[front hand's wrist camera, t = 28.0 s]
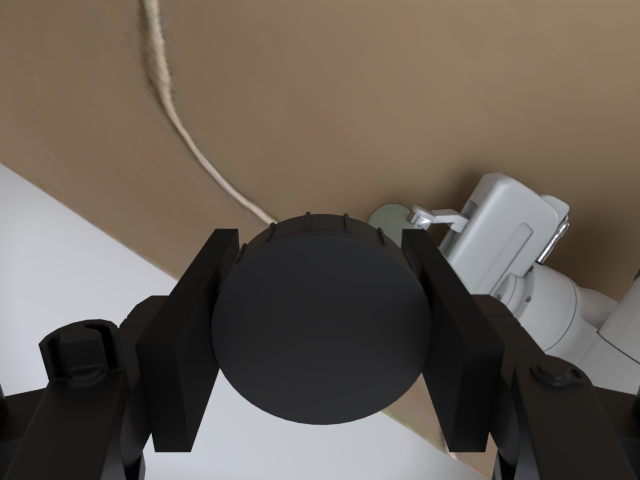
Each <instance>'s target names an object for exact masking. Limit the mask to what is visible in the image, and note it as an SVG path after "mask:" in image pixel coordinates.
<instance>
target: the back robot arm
mask: <svg viewBox="0 0 640 480" xmlns="http://www.w3.org/2000/svg"><path fill="white" fill-rule="evenodd" d="M569 217H570V209H569V206H568V205H567V203H565V202H564V201H563V200H561V199H559V198H557V197H555V196H553V195H551V194H539V195H537V194H536V193H535V192H533V191H532V190H531V189H529V188H528V187H526V186H525V185H523V184H521V183H520V182H518V181H516V180H515V179H513V178H511V177H509V176H507V175H505V174H503V173H500V172H493V173H488V174H485V175H484V176H483V177H482V179H481V180H480V182H479V183H478V185H477V187H476V188H475V190H474V191H473V193H472V195H471V196H470V198H469V199H468V201H467V203H466V204H465V206H464V207H463V209H462V211H461V212H460V213H458V212H456V211H454V210H452V209H442V210H431V211H428V210H426V209H424V208H422V207H420V206H418V205H414V206H413V208H412V210H411V211H410V213H409V215H408V217H407V219H408V221H409V222H411V223H412V224H414V225H419V226H420V227H421V228H422V229H425V230H427V229H428V227H429V226H430V224H431V223H446V224H447V225H448V226H449V227H450V230H449V231H448V233H447V235H446V236H445V238H444V239H443V241H442V243H441V244H440V246H439V247H438V248H439V250H440V251H441V252H442V253H443V255H444V256H445V257H446V259H447V260H448V261H449V263H450V264H451V265H452V267H453V268H454V269H455V270H456V272H457V273H458V274H459V276H460V277H461V278H462V280H463V281H464V282H465V284H466V285H467V286H468V288H469V289H470V291H471V293H472V294H489V295H491V296H493V297H494V298H496V299H497V300H499V301H501V302H502V303H504V304H505V305H506V306H507V308H508V309H509V310H510V311H511V312H512V314H513V316H514V317H516V319H517V320H518V321H519V322H520V323H521V326H523V327H524V328H525V330H526V331H527V332H528V333H529V334H530V336H531V337H532V338H533V339H534V340H535V342H536V343H537V344H538V345H539V347H540V348H541V349H542V350H543V351H544V353H545V354H547V355H551V356H555V357H559V358H561V359H563V360H566V361H568V362H570V363H572V364H574V365H575V366H577V367H578V368H579V369H581V370H582V371H584V372H585V374H586V375H587V376H588V378H589V379H590V380H591V382H592V384H593V386H597V387H601V388H606V389H610V390H615V391H620V392H625V393H630V394H635V395H637V392H638V389H639V386H640V269H639V271H638V273H637V274H636V276H635V278H634V282H633V284H632V285H631V287H630V288H629V289H628V291H627V292H626V294H625V295H624V296H623V298H622V299H621V300H620V302H617V301H615V300H613V299H612V298H610V297H608V296H606V295H604V294H602V293H600V292H598V291H595V290H592V289H588V288H581V287H579V286H577V285H576V284H575V283H574V282H573V281H572V280H571V279H570V278H569V277H567V276H565V275H563V274H561V273H559V272H557V271H555V270H553V269H551V268H549V267H547V266H545V265H543V263H544V262H545V260H546V259H547V257H548V256H549V255H550V253H551V252H552V250H553V249H554V247H555V245H556V242H558V240H559V239H560V238H561V236H563V235H564V234H565V233H566V231H567V230H568V228H569V225H570V224H569V223H567V222H568V220H569ZM563 218H564V219H563ZM562 219H563V220H562Z"/></svg>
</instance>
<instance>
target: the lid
mask: <svg viewBox="0 0 640 480" xmlns="http://www.w3.org/2000/svg"><path fill="white" fill-rule="evenodd" d="M414 271H416V269H415V267H414V265H413V263H412V261H411V259H410V257H409V255H408V253H407V252H406V250H404V251H402V250H401V249H400V248H399V247H398V246H397V245H396V244H395V242H394V241H393V240H391V239H390V238H389V237H388V236H386V235H385V234H384V232H383V230H382V228H380V227H378V229H376V228H374V227H373V226H371V225H369V224H366V223H364V222H362V221H359V220H356V219H353V218H349V217H348V214H345V213H344V216H339V215H333V214H313V215H310V212H306V215H303V216H299V217H295V218H290V219H288V220H285V221H282V222H280V223H277V224H275V223H274V222H273V223H271V224H270V226H269V228H268V229H266V230H264V231H263V232H261V233H260V234H259V235H257V236H256V237H255V238H254V239H252V240H251V241H250V242H249V243H248V244H246V243H244V244H243V245H242V247H241V249H240V251H239V253H238V256H237V258H236V260H235V261H234V263H233V265H232V267H231V269H230V271H229V272H228V271H226V273H225V275H224V277H223V279H222V281H221V283H220V285H219V287H218V289H217V292H216V293H217V294H218V297H217V299H216V302H215V304H214V308H213V313H212V317H211V342H212V347H213V351H214V355H215V357H216V360H217V362H218V365H219V367H220V369H221V371H222V372H223V374H224V376H225V377H226V379H227V380H228V381H229V383H230V384H231V385H232V386H233V388H234V389H235V390H236V391H237V392H238V393H239V394H240V395H241V396H243V397H244V398H245V399H246V400H248V401H249V402H250V403H251V404H253V405H255V406H256V407H258V408H260V409H261V410H263V411H265V412H267V413H269V414H271V415H274V416H276V417H279V418H282V419H285V420H289V421H293V422H297V423H304V424H312V425H330V424H341V423H346V422H351V421H355V420H358V419H362V418H365V417H367V416H370V415H372V414H375V413H377V412H379V411H381V410H382V409H384V408H386V407H388V406H389V405H391V404H392V403H393V402H395V401H396V400H398V399H399V398H400V397H401V396H402V395H403V394H404V393H406V392H407V391H408V390H409V388H410V387H411V386H412V385H413V384H414V383H415V381H416V380H417V378H418V377H419V375H420V374H421V372H422V371H423V369H424V366H425V364H426V362H427V359H428V350H429V341H430V332H431V323H432V312H431V308H430V305H429V302H428V301H429V299H428V297H427V295H426V293H425V291H424V289H423V287H422V285H421V282H420V280H419V279H418V278H417V276H416V274H415V272H414Z"/></svg>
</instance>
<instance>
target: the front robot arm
mask: <svg viewBox="0 0 640 480" xmlns="http://www.w3.org/2000/svg"><path fill="white" fill-rule="evenodd" d="M401 250H402V251H404V250H406V252H407V253H408V255H409V257H410V259H411V261H412V263H413V265H414V267H415V269H416V271H414V272H415V274H416V276H417V278H418V279H419V280H420V282H421V285H422V287H423V289H424V291H425V293H426V295H427V297H428V299H429V301H428V302H429V305H430V308H431V312H432V323H431V332H430V341H429V350H428V359H427V362H426V364H425V366H424V369H423V371H422V374H423V377H424V380H425V383H426V386H427V388H428V391H429V394H430V397H431V400H432V403H433V406H434V409H435V411H436V414H437V417H438V420H439V423H440V426H441V429H442V432H443V434H444V437H445V440H446V443H447V446H448V449H449V452H485V451H486V445H487V440H488V435H489V431H490V433H491V436H492V438H493V440H494V442H495V444H496V446H497V448H498V450H497V455H496V460H495V465H494V470H493V475H492V480H640V386H639V389H638V392H637V395H635V394H630V393H625V392H620V391H615V390H610V389H606V388H601V387H597V386H593V384H592V382H591V380H590V379H589V378H588V376H587V375H586V374H585V372H584V371H582V370H581V369H579V368H578V367H577V366H575V365H574V364H572V363H570V362H568V361H566V360H563V359H561V358H559V357H555V356H551V355H547V354H545V353H544V351H543V350H542V349H541V348H540V347H539V345H538V344H537V343H536V342H535V340H534V339H533V338H532V337H531V336H530V334H529V333H528V332H527V331H526V330H525V328H524V327H523V326H521V323H520V322H519V321H518V320H517V319H516V317H514V316H513V314H512V312H511V311H510V310H509V309H508V308H507V306H506V305H505V304H504V303H502V302H501V301H499V300H497V299H496V298H494V297H493V296H491V295H489V294H470V293H469V291H468V290H467V288H466V287H465V286H464V284H463V283H462V281H461V280H460V278H459V277H458V276H457V274H456V273H455V271H454V270H453V268H452V267H451V266H450V264H449V263H448V261H447V260H446V259H445V257H444V256H443V254H442V253H441V251H440V250H439V249H438V247H437V246H436V244H435V243H434V241H433V240H432V239H431V237H430V236H429V234H428V233H427V231H426V230H425V229H402V239H401ZM239 251H240V249H239V235H238V229H215V230H214V232H213V233H212V235H211V236H210V237H209V239H208V240H207V242H206V243H205V245H204V246H203V247H202V249H201V250H200V252H199V253H198V255H197V256H196V257H195V259H194V260H193V262H192V263H191V265H190V266H189V267H188V269H187V270H186V272H185V273H184V275H183V276H182V277H181V279H180V280H179V282H178V283H177V285H176V286H175V287H174V289H173V290H172V292H171V293H170V295H169V296H150V297H148V298H147V299H145V300H144V301H142V302H140V303H139V304H137V305H136V306H135V307H134V309H133V310H132V311H131V312H130V313H129V315H128V316H127V318H126V319H124V321H123V322H122V323H121V324H120V327H119V328H118V327H117V325H115V324H114V323H113V322H111V321H107V320H102V319H94V320H84V321H79V322H75V323H71V324H68V325H66V326H63V327H61V328H58V329H56V330H55V331H53V332H52V333H50V334H48V335H47V336H46V337H45V338H44V339H43V340H42V341H41V342H40V343H39V348H40V351H41V355H42V358H43V362H44V365H45V369H46V372H47V375H48V379H49V383H48V385H47V387H46V388H43V389H39V390H34V391H29V392H24V393H19V394H15V395H10V396H5V397H4V394H3V391H2V388H1V385H0V480H144V477H145V469H146V468H145V461H144V455H143V449H144V447H145V444H146V442H147V440H148V438H149V436H150V434H151V433H152V439H153V444H154V449H155V452H191V450H192V447H193V444H194V441H195V438H196V435H197V432H198V429H199V427H200V424H201V421H202V418H203V415H204V412H205V409H206V406H207V404H208V401H209V398H210V395H211V392H212V389H213V386H214V383H215V380H216V378H217V375H218V372H219V369H220V367H219V365H218V362H217V360H216V357H215V355H214V351H213V347H212V342H211V317H212V313H213V308H214V304H215V302H216V299H217V297H218V294H217V293H216V292H217V289H218V287H219V285H220V283H221V281H222V279H223V277H224V275H225V273H226V271H228V272H229V271H230V269H231V267H232V265H233V263H234V261H235V260H236V258H237V256H238V253H239Z"/></svg>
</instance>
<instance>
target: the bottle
mask: <svg viewBox="0 0 640 480" xmlns="http://www.w3.org/2000/svg"><path fill="white" fill-rule="evenodd" d="M409 213H410V210H409V209H407V208H406V207H404V206H402V205H399V204H387V205H384V206H381V207H380V208H378V209H377V210H376V211H375V212H374V213H373V214H372V215H371V217H370V219H369V222H368V224H369V225H371V226H373V227H374V228H376V229H378V227H380V228H382V230H383V232H384V234H385V235H386V236H388V237H389V238H390V239H391V240H393V241H394V242H395V244H396V245H397V246H398V247H399V248H400V249H401V239H402V229H422V228H421V227H420V226H419V225H414V224H412V223H411V222H409V221H408V219H407V217H408V215H409ZM438 249H439V248H438ZM441 253H442V252H441ZM442 254H443V253H442ZM443 256H444V255H443ZM444 257H445V256H444ZM445 259H446V257H445ZM446 260H447V259H446ZM447 261H448V260H447ZM448 263H449V261H448ZM449 264H450V263H449ZM450 266H451V267H452V265H451V264H450ZM452 268H453V267H452ZM453 270H454V271H455V273H456V274H457V276H458V277H459V278H460V280H461V281H462V283H463V284H464V286H465V287H466V288H467V290H468V291H469V293H470V294H472V293H471V291H470V289H469V288H468V286H467V285H466V284H465V282H464V281H463V280H462V278H461V277H460V276H459V274H458V273H457V272H456V270H455V269H454V268H453Z"/></svg>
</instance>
